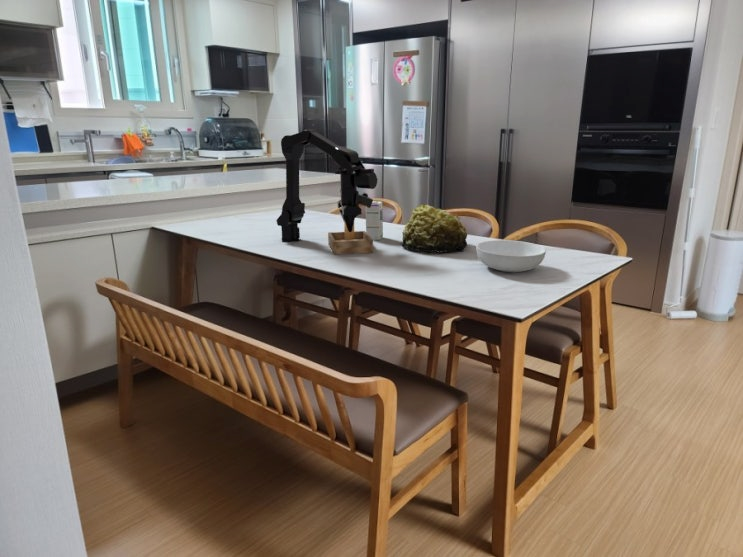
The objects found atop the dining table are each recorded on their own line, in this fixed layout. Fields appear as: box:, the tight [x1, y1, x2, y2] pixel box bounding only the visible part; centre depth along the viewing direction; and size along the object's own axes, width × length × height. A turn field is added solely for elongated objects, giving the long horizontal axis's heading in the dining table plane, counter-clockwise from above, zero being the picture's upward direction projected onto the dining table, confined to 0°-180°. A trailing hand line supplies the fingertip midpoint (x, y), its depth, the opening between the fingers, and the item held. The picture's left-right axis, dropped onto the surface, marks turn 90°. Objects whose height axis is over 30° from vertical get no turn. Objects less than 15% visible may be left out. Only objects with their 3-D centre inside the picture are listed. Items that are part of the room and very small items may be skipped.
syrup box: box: [365, 200, 384, 241], centre depth 201 cm, size 6×6×14 cm
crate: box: [327, 230, 374, 255], centre depth 187 cm, size 14×17×4 cm
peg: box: [343, 221, 355, 240], centre depth 185 cm, size 4×4×9 cm
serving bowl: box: [475, 239, 547, 273], centre depth 159 cm, size 21×21×7 cm
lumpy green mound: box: [401, 204, 468, 254], centre depth 187 cm, size 25×24×16 cm
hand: (349, 230), depth 185 cm, fingers closed on peg, 4 cm apart
